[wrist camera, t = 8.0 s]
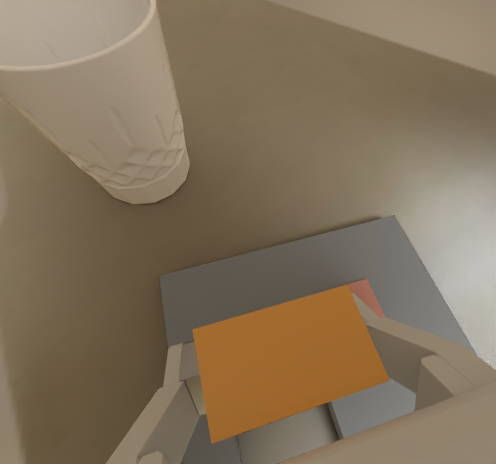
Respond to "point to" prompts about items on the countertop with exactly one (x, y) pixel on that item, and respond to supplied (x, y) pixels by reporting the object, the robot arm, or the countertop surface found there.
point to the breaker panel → (304, 284)
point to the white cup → (98, 90)
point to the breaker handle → (284, 361)
